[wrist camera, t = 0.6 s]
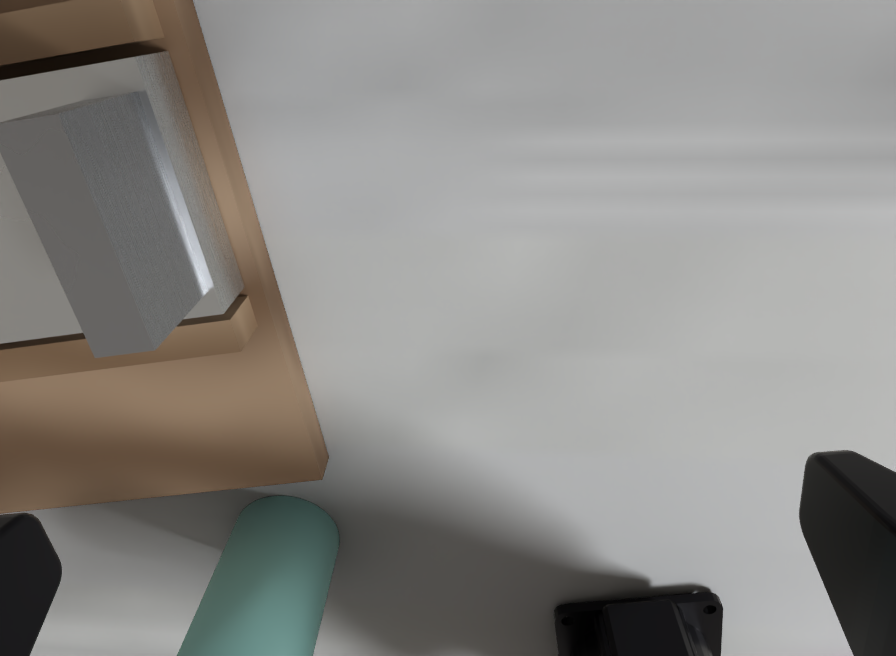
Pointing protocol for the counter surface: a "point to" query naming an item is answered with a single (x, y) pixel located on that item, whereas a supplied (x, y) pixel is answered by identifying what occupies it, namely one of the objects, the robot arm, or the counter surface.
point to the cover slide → (107, 209)
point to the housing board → (185, 349)
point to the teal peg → (268, 583)
